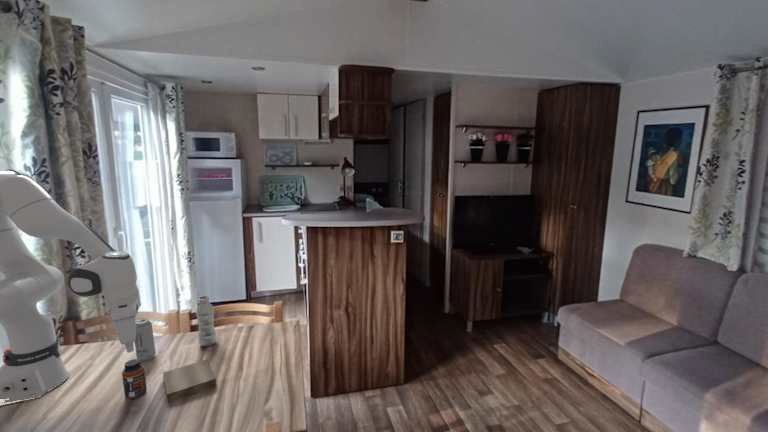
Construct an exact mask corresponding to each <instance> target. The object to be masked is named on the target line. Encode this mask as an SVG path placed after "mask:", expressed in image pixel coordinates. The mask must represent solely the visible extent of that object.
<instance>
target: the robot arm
mask: <svg viewBox="0 0 768 432" xmlns="http://www.w3.org/2000/svg"><path fill="white" fill-rule="evenodd" d="M15 226H16V227H17V228H18V229H19V230H20V231H21V232H22V233H25V235H28V236H30V237H34V238H38V239H39V238H40V239H57V240H64V241H69V242H72V243H74V244H76V245H77V246H78V247H80V249H82V250H83V251H84V252H85V253H86V254H88V256H90V257H91V258H92V259H93V260H92V261H90V262H87V263H85V264H82V265H80V266H77V267H76V268H73V269H72V270H71V271H70V272H69V274H68V276H67V285H68V287H69V290H70V291H71V292H72V293H73V294H75V295H76V296H79V297H82V298H86V297H93V296H97V295H103V298H104V299H103V300H104V305H105V311H106V314H108V316H109V317H110V321H111V322H113V325H114V327H115V330H116V334H117V338H118V341H119V343H120V344H121V345H125V350H126V353H127V354H128V353H132V352H134V349H135V346H134V343H135V339H136V320H137V319H136V318H137V315H138V313H139V312H138V311H139V309H140V308H141V305H142V301H141V296H140V290H139V288H138V285H137V279H138V277H137V272H136V271H137V270H136V266H135V262H134V260H133V257H132V255H131V254H130V253H128V252H126V251H121V250H116V249H114V248H113V246H111V245H110V244H109V243H108V242H107V241H106V240H105V239H104V238H102V237H101V236H100V235H99V234H98V232H96V231H94V229H93V228H91V226H89V224H87V223H86V222H85V221H83V220H82V219H80V218H78V217H76V216H74V215H72V214H70V213H69V212H68V211H66V210H65V209H64V208H62V207H61V206H60V205H59V204H58V203H57V202H56V200H54V198H53V197H52V196H51V195H50V194H49V193H48V192H47V191H46V190H45V189H44V188H43V186H41V185H40V184H39V183H37V181H35V179H34V178H33V176H32V175H31V174H30V173H29V172H27V171H24V170H21V169H10V168H9V169H5V170H0V273H1V274H2V275H4V276H5V277H6V278H3V279H1V280H0V324H1V326H2V327H3V329H4V330H5V333H6V335H7V336H6V337H7V340H8V344H9V347H7V348H5V350H4V351H3V356H2V357H3V358H2V362H3V364H2V365H1V366H0V399H7V398H9V400H5V402H6V403H7V402H13V401H17V400H24V399H30V398H37V397H39V396H41V397H43V396H44V395H46V394H47V393H48V392H49V391H48V390H50V389H52V388H54V387H55V386H57V385H59V384H61V383H62V382H64V381H65V380H66V379H67V377H68V375H69V376H70V373H69V371H67V369H66V366H65V364H64V362H63V360H62V357H61V353H62V351H61V346H60V342H59V339H58V338H57V335H56V329H55V324H54V320H53V318H52V317H51V316H49V315H46V314H42V313H40V311H39V309H38V307H37V306H38V305H37V304H38V303H40V302H42V301H43V300H46V299H47V298H50V297H51V296H53V295H54V294H55V293H57V292H58V291H59V290H60V289H61V288H62V287H63V285H64V283H65V276H64V273H63V272H62V271H61V270H60V269H59V268H57V267H55V266H53V265H49V264H47V263H45V262H42V261H41V259H39V258H37V257H36V256H35V255H34V254H33V253H32V252H31V251H30V250H29V248H28V247H27V245H26V243H25V242H24V240H23V238H22V237H21V235H20V234H19V232H18V230H17V228H16V227H15ZM68 378H69V377H68ZM67 380H68V379H67ZM67 380H66V381H67ZM66 381H65V382H66ZM65 382H64V383H65ZM62 384H63V383H62ZM62 384H61V385H62ZM59 386H60V385H59ZM54 389H55V388H54ZM52 390H53V389H52ZM47 391H48V392H47ZM50 391H51V390H50ZM46 392H47V393H46ZM45 393H46V394H45ZM43 394H44V395H43ZM33 395H34V396H33ZM42 395H43V396H42ZM37 399H38V398H37ZM5 402H4V403H5Z"/></svg>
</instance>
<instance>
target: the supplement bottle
mask: <svg viewBox="0 0 768 432" xmlns="http://www.w3.org/2000/svg"><path fill="white" fill-rule="evenodd" d="M121 375H122V383H123V384H122V385H123V391H124V397H125V398H126V399H127V400H134V399H139V398H140V397H142V396H143V395H145V394H146V393H147V391H148V390H147V389H148V388H147V380H146V372H145V367H144V365H142V364H141V361H139V360H138V359H137V358H134V359H133V358H132V359H130V360H128V361H125V363H124V369H123V370H122V371H121Z"/></svg>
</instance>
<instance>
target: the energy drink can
mask: <svg viewBox="0 0 768 432" xmlns="http://www.w3.org/2000/svg"><path fill="white" fill-rule="evenodd" d="M155 346H156V345H155V339H154V330H153V323H152V321H150V319H149V318H147V317H145V318H140V319H136V339H135V341H134V349H135V354H136V359H138V360H139V361H140V362H142V363H143V362H147V361H150V360H152V359H154V357H155V355H156V347H155Z"/></svg>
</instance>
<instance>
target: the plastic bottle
mask: <svg viewBox="0 0 768 432" xmlns="http://www.w3.org/2000/svg"><path fill="white" fill-rule="evenodd" d="M198 304H199V305H198V306H197V308H196V310H195V315H196V319H197V323H198V338H197V339H198V345H200V346H201V347H209V346H210V347H211V346H213V345H214V344H215V343H216V342H217V339H218V337H217V333H216V329H215V326H214V325H215V324H214V323H215V321H214V319H215V317H214V316H215V308H214V305H212V304H211V303H210V297H209V296H207V295H203V296H199V297H198Z"/></svg>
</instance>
